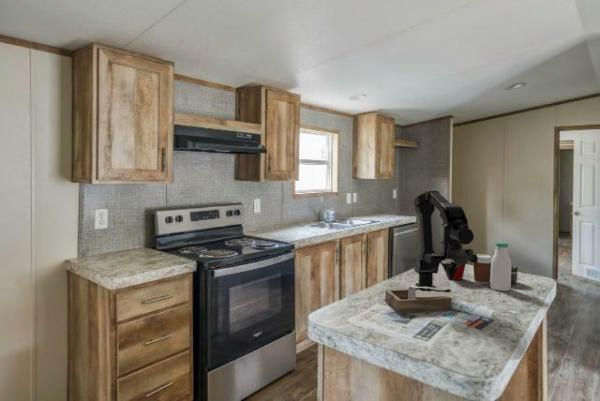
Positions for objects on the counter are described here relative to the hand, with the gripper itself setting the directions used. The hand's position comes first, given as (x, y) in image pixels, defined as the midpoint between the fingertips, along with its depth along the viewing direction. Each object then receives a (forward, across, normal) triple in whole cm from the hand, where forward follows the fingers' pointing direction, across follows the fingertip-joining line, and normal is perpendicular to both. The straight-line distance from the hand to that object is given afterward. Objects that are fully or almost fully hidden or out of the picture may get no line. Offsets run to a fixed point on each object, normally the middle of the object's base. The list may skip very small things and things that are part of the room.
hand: (450, 280), depth 141 cm
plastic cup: (+9, +21, +32) cm, 39 cm away
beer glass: (+6, -1, -1) cm, 6 cm away
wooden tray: (+9, -13, 0) cm, 16 cm away
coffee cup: (+9, +30, +25) cm, 40 cm away
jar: (+9, +40, +23) cm, 47 cm away
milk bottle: (+9, +32, +14) cm, 36 cm away
